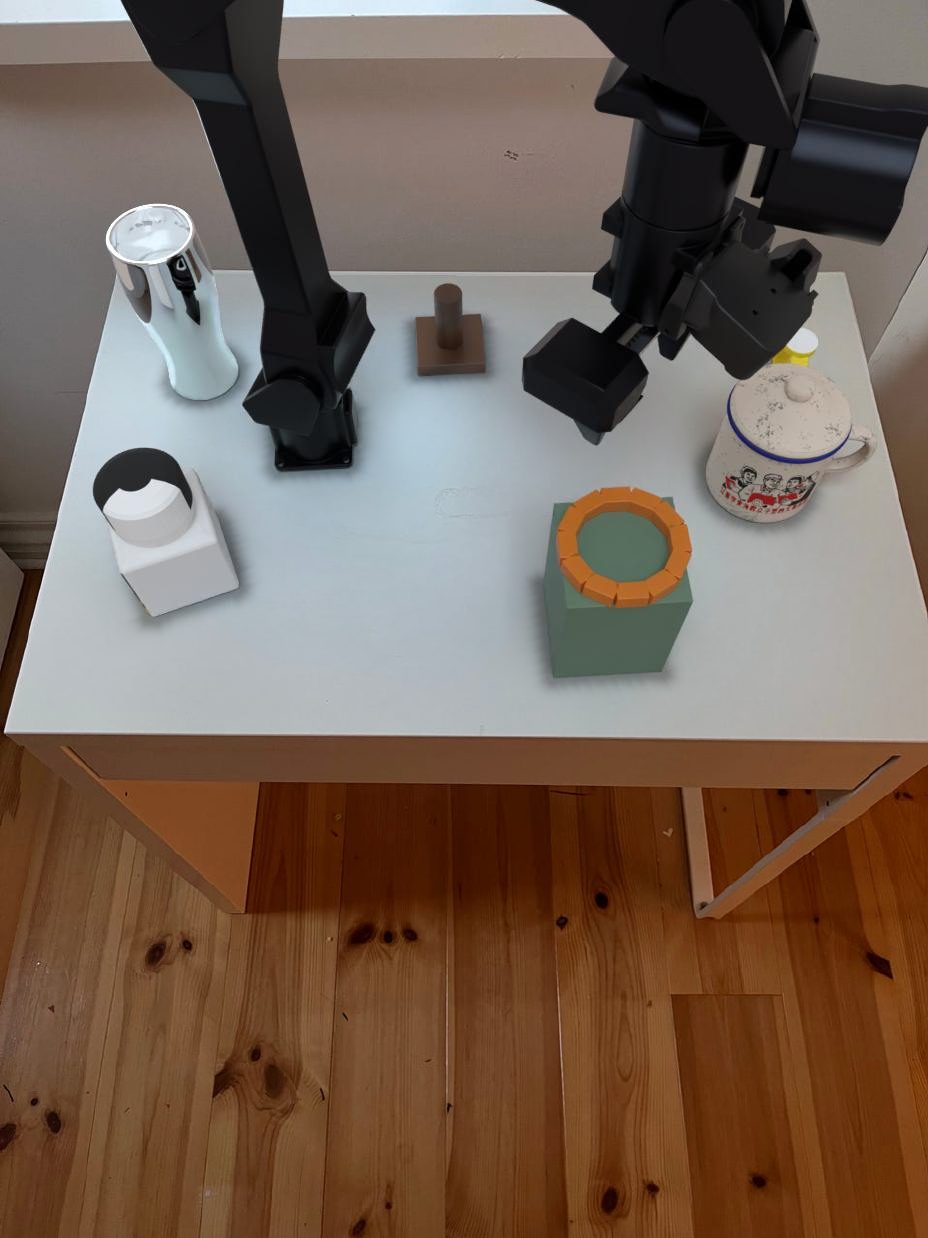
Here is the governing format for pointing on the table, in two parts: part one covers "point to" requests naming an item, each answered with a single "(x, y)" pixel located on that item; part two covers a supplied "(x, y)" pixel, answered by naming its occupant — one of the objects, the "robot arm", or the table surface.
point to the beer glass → (174, 296)
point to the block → (609, 635)
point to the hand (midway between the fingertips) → (630, 397)
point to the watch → (798, 348)
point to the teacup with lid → (782, 442)
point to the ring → (609, 589)
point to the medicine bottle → (163, 530)
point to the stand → (449, 337)
